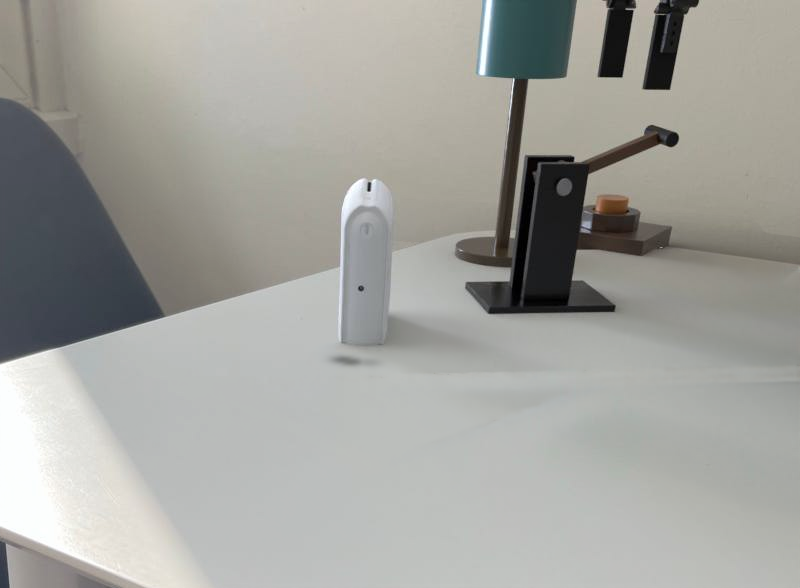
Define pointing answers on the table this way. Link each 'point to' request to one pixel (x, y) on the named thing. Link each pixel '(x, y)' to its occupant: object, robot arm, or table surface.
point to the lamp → (517, 93)
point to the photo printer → (365, 263)
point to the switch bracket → (545, 245)
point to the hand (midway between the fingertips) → (631, 83)
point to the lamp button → (612, 204)
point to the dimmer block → (620, 232)
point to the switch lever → (631, 148)
